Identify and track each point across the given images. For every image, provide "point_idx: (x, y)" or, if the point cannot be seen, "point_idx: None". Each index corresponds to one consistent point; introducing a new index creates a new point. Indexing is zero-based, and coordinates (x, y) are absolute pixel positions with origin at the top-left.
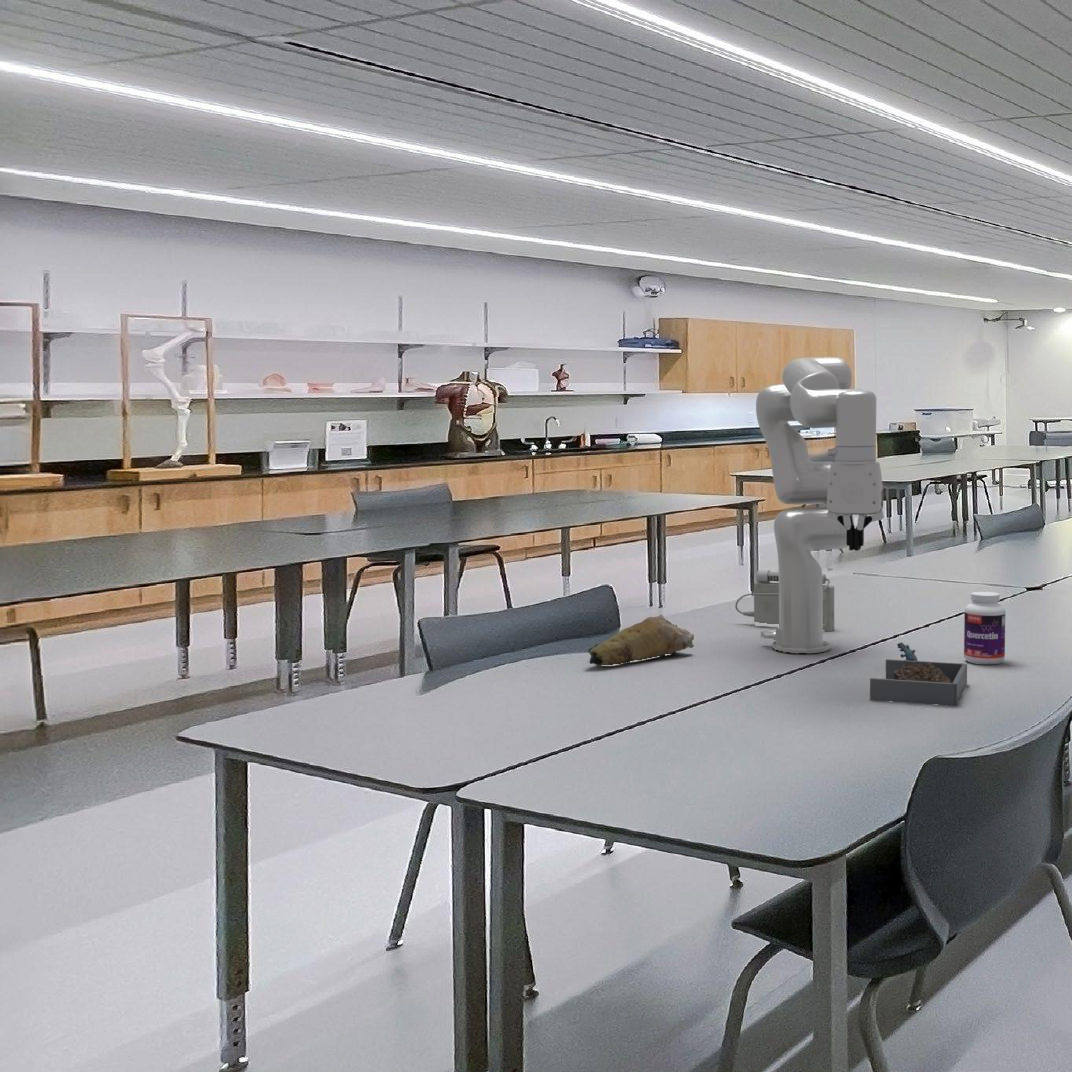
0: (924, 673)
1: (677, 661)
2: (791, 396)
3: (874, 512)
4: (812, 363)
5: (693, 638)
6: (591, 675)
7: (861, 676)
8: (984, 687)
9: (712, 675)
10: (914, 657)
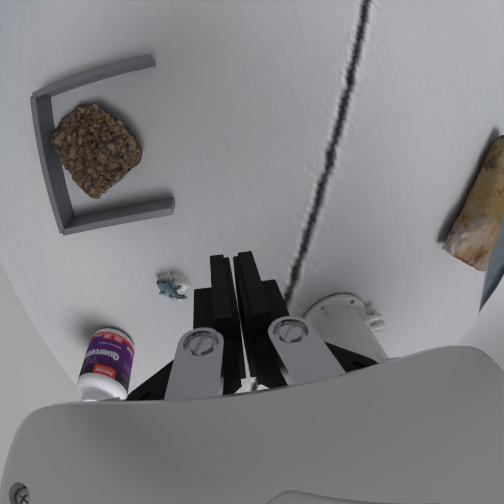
0: (87, 146)
1: (447, 202)
2: None
3: (39, 411)
4: None
5: (447, 250)
6: (492, 110)
7: (215, 205)
8: (50, 216)
9: (406, 137)
10: (160, 285)
